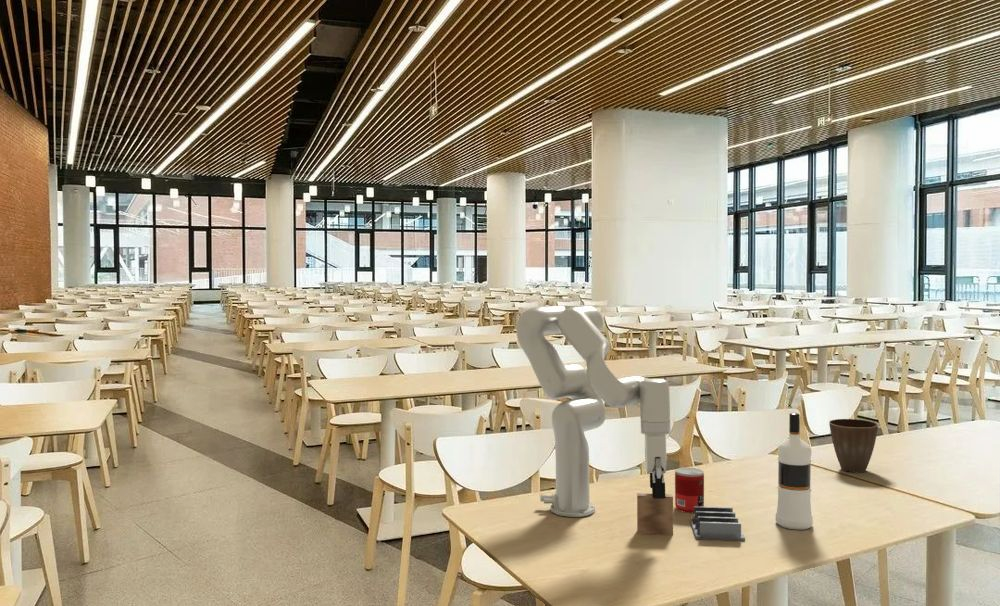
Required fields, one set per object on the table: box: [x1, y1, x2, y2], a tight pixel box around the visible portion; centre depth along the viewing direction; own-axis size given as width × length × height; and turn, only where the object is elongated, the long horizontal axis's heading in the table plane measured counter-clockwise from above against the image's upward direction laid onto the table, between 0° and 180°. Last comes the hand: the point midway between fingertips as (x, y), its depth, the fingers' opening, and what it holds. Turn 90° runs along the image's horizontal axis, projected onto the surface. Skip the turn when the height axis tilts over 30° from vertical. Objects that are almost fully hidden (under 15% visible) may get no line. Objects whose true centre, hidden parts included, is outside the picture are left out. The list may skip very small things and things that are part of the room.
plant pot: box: [828, 418, 879, 473], centre depth 255 cm, size 15×15×16 cm
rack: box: [689, 506, 746, 542], centre depth 198 cm, size 12×13×4 cm
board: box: [636, 492, 674, 536], centre depth 197 cm, size 9×2×10 cm, turn 82°
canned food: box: [674, 467, 705, 514], centre depth 216 cm, size 8×8×11 cm
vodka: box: [775, 412, 814, 531], centre depth 201 cm, size 9×9×30 cm
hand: (657, 492), depth 196 cm, fingers open, 9 cm apart
